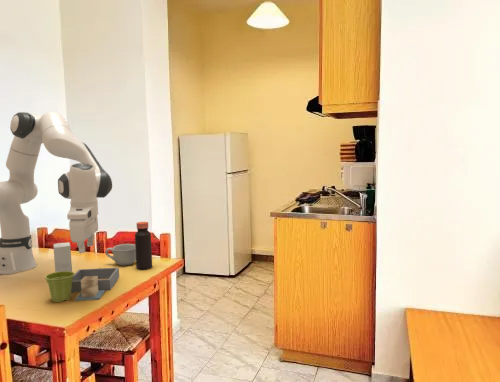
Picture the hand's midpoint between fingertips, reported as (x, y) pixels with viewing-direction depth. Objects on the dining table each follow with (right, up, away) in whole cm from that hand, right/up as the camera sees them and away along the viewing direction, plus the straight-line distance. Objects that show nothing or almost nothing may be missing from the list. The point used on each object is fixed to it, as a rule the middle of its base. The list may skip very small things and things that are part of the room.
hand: (86, 249), depth 147 cm
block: (+1, -16, +2) cm, 17 cm away
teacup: (0, -13, +43) cm, 45 cm away
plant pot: (-9, -18, 0) cm, 20 cm away
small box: (-20, -15, +27) cm, 37 cm away
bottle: (+11, -13, +36) cm, 40 cm away
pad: (+1, -17, +2) cm, 17 cm away
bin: (-3, -16, +15) cm, 22 cm away
